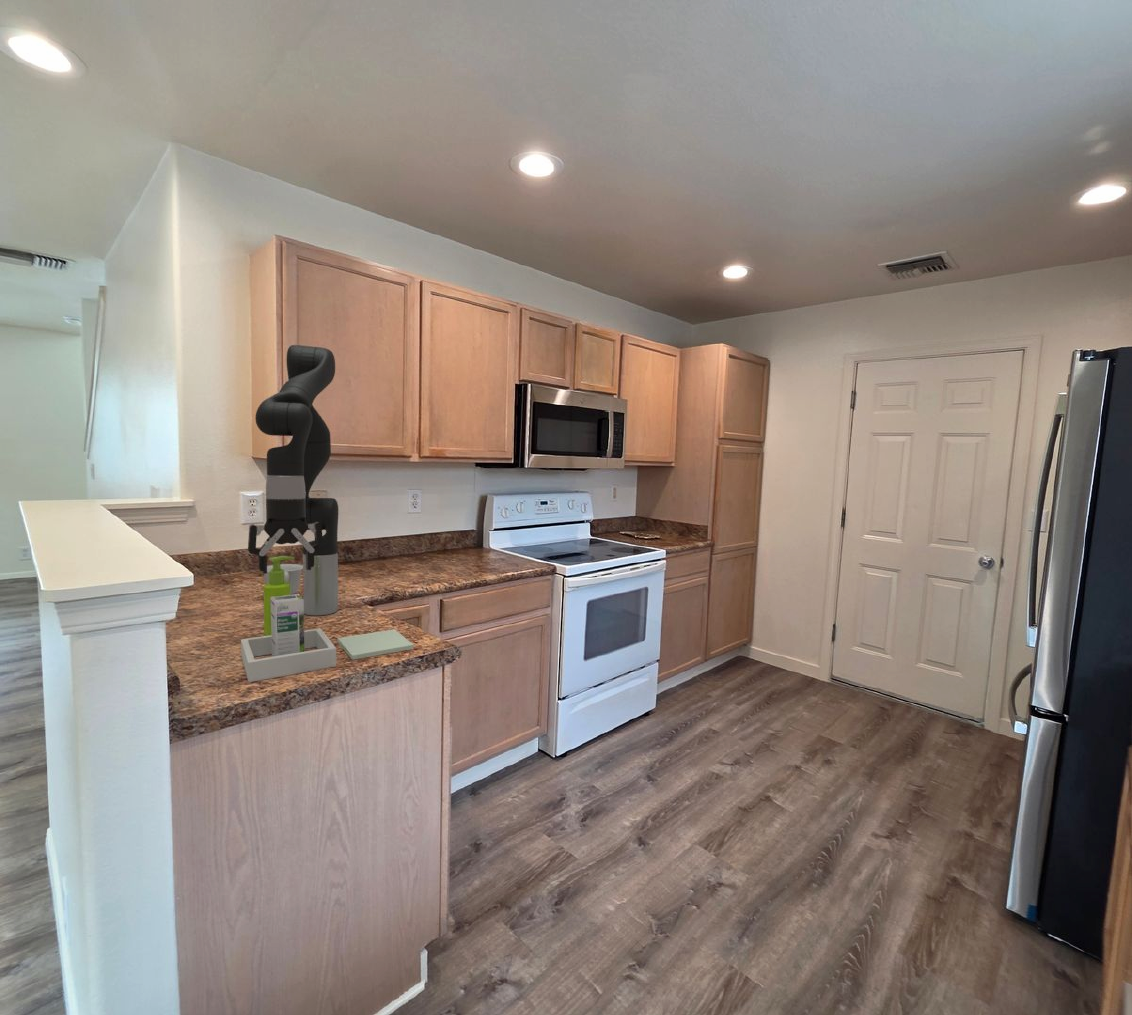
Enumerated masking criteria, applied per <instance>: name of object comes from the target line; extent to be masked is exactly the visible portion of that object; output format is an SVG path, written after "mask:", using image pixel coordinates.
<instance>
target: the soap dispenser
mask: <svg viewBox="0 0 1132 1015" xmlns="http://www.w3.org/2000/svg"><path fill="white" fill-rule="evenodd" d="M268 560H269V561H270V562H272V565H273V569H272V570H271V571H269V584H266V583H265V584H264V585H263V589H262V590H263V634H264V636H269V635H271V597H276V596H285V595H290V583H286V582H285V577H284V570H282V569H281V565H280V564H281V561H282V560H290V561H291V560H295V557H293V556H287V555H281V556H280V555H279V556H274V557H269V558H268Z"/></svg>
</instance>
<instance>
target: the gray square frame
mask: <svg viewBox="0 0 1132 1015" xmlns="http://www.w3.org/2000/svg"><path fill="white" fill-rule="evenodd" d="M311 648H316V649H312V650H307V651H305V650H306V649H311ZM240 651H241V652H240V653H241V655H240V656H241V660H242V664H243V668H244V672H245V675H246V678H247V682H248V683H252V682H258V681H263V680H269V679H275V678H280V677H285V676H291V675H296V674H301V673H307V672H312V671H313V672H314V671H318V670H325V669H329V668H334V667H337V647H336V646H335V645H334V643H333V642H332V641H331V640H330V639H329V637H328V636H327V635H326V634H325V632H324V631H323V629H322V628H320V627H318V628H313V629H304V651H305V652H299V653H293V654H287V655H281V656H274V657H272V656H268V657H264V658H263V657H262V658H257V659H255V658H256V657H260V656H267V655H272V635H269V636H257V637H256V636H255V637H249V638H244V639H242V638H241V640H240ZM254 657H255V658H254Z"/></svg>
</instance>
